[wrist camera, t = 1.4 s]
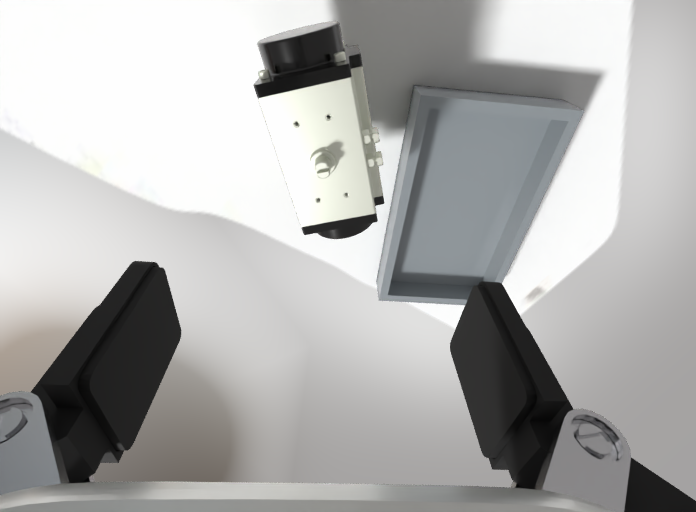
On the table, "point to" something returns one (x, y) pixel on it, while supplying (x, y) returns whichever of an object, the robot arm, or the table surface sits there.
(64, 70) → the table surface
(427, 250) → the parts tray
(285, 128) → the pneumatic valve
